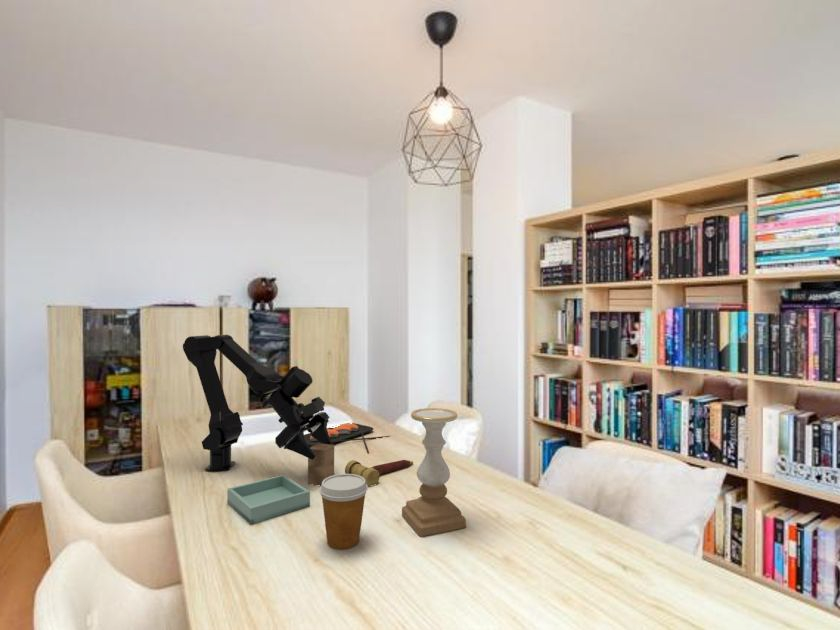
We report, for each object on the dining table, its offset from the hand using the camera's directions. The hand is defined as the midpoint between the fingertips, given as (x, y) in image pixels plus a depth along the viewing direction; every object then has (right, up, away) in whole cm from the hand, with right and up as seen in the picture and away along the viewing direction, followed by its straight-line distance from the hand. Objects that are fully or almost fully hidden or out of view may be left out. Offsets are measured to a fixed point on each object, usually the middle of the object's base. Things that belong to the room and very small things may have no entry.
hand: (323, 452), depth 121 cm
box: (-10, -8, -14) cm, 19 cm away
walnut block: (-1, -8, 0) cm, 8 cm away
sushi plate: (+1, -8, +38) cm, 39 cm away
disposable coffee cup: (+10, -9, -30) cm, 33 cm away
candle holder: (+29, -9, -21) cm, 37 cm away
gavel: (+16, -9, +8) cm, 20 cm away
